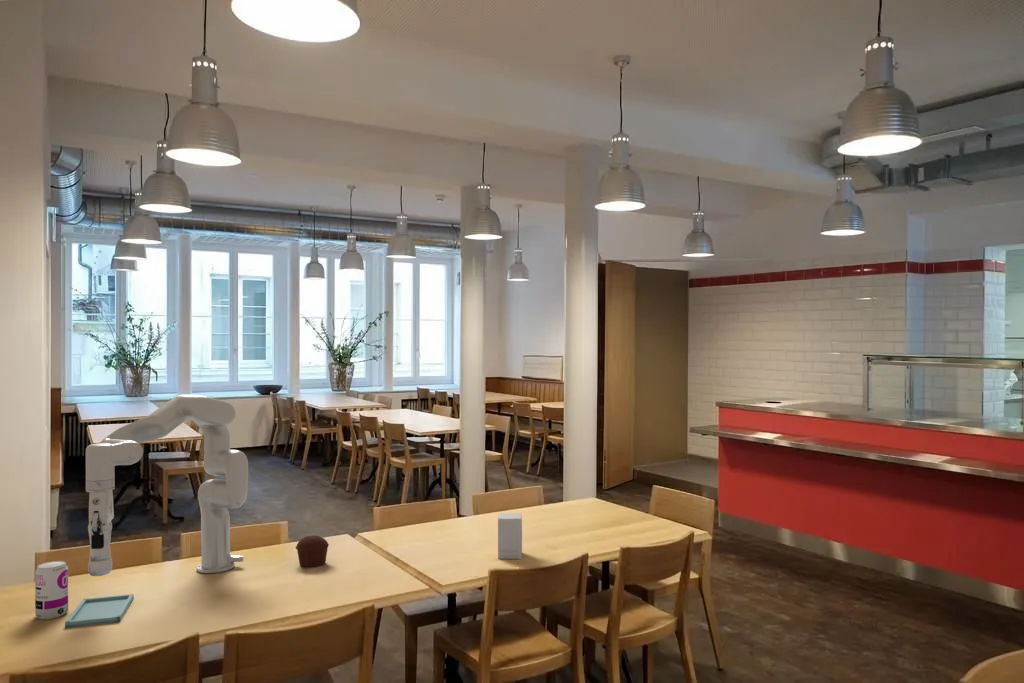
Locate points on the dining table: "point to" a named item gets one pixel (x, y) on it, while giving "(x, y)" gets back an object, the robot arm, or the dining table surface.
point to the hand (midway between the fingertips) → (100, 544)
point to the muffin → (312, 551)
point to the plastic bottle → (101, 553)
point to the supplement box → (510, 536)
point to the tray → (100, 610)
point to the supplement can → (51, 590)
